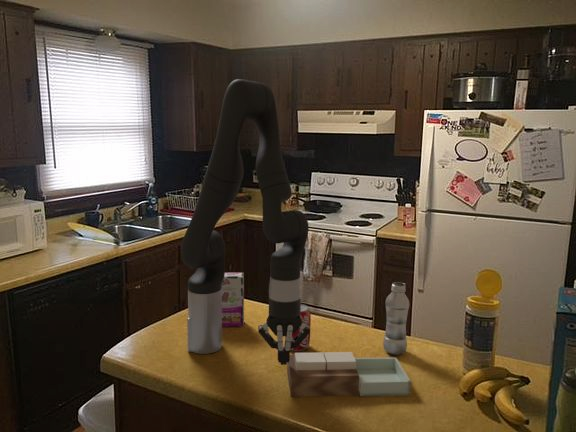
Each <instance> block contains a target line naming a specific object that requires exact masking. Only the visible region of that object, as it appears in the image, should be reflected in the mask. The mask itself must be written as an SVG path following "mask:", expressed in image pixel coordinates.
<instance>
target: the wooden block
mask: <svg viewBox="0 0 576 432" xmlns="http://www.w3.org/2000/svg"><path fill="white" fill-rule="evenodd" d="M286 366H287V367H286V371H287V373H286V374H287V381H288V387H289V388H288V389H289V394H290V397H293V398H294V397H326V396H327V397H329V396H332V397H333V396H337V397H338V396H359V392H358V391H359V374H358V371H357V369H341V370H327V369H326V370H296V365H295V354H290V361H289V362H287V365H286Z"/></svg>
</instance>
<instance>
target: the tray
mask: <svg viewBox="0 0 576 432" xmlns="http://www.w3.org/2000/svg"><path fill="white" fill-rule="evenodd" d="M354 358H355V360H356V369H357V371H358V374H359V391H358V396H360V397H385V396H386V397H390V396H391V397H394V396H395V397H396V396H397V397H398V396H411V386H412V381H411V379H410V378H409V376H408V374H407V373H406V371H405V369H404V368H403V367H402V364H401V363H400V362H399V360H398V358H397V357H396V356H395V357H394V356H393V357H354Z"/></svg>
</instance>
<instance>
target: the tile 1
mask: <svg viewBox="0 0 576 432" xmlns="http://www.w3.org/2000/svg"><path fill="white" fill-rule="evenodd" d="M294 355H295V365H296V370H326V361H325V358H324V352H322V351H321V352H294Z"/></svg>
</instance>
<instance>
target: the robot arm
mask: <svg viewBox="0 0 576 432" xmlns="http://www.w3.org/2000/svg"><path fill="white" fill-rule="evenodd" d="M245 121H250V122H254V123H255V126H256V130H257V133H258V138H259V141H258V143H259V144H258V150H257V155H256V160H255V175H256V178H257V183H258V187H259V190H260V193H261V197H262V198H261V199H262V203H261V204H262V230H263V233H264V235H265V237H266V239H267V240H268V241H269V242H270V243H273V244H274V245H275V244H279V245H280V244H283V245H282V246H281V248H279V249H278V250H275V251H274V252H272V254H271V256H270V260H269V261H270V265H269V268H270V269H269V270H270V271H269V273H270V277H269V282H268V316H267V318H266V320H265V321H266V322H265V323H263V324H260V325H258V328H257V329H258V332H257V333H258V334H259V335H260V336H261V337H262V338H263V340H264V341H265V342H266V343H267V345H268V346H269V347H270V348H271V349H276V350H277V362H278V363H280V365H281V366H283V365H285V366H287V362H289V361H290V355H291V354H290V353H291V351H292V350H291V349H292V348H297V347H298V346H299V345H300V344H301V342H302V341H303V340H304V339H305V338H306V336H307V335H308V334H309V333H310V334H311V326H310V327H309V325H305V324H304V323H303V322H302V318H301V317H300V308H301V304H302V303H301V300H302V297H301V296H302V283H301V262H302V261H301V260H302V257H303V255H304V254H303V253H304V250H305V247H306V243H307V239H308V236H309V231H310V230H309V221H308V217H307V216H306V215H305V213H304V212H303V211H301V210H297V209H293V210H286V211H282V204H283V203H284V202H286V201H288V200H290V199H291V197H292V195H293V194H292V193H293V192H292V187H291V183H290V179H289V177H288V174H287V173H288V172H287V168H286V166H285V162H284V157H283V153H282V146H281V138H280V137H281V136H280V129H279V128H280V127H279V121H278V111H277V105H276V100H275V95H274V93H273V90H272V88H271V87H270V86H269V85H268V84H266V83H262V82H258V81H253V80H248V79H242V78H241V79H240V78H237V79H234V80H232V81H231V82H230V83H229V85H228V86H227V89H226V90H225V93H224V97H223V100H222V105H221V110H220V116H219V121H218V127H217V132H216V136H215V140H214V144H213V148H212V151H211V155H210V158H209V161H208V165H207V168H206V171H205V174H204V176H203V177H204V178H203V181H202V184H201V185H202V186H201V190H200V192H199V196H198V199H197V201H196V204H195V205H196V206H195V208H194V211H193V214H192V216H191V220H190V222H189V223H188V227H187V228H186V231H185V233H184V235H183V238H182V241H181V244H180V256H181V261H182V262H183V264H184V265H185V266H186V267H188V268H190V269H196V270H195V272H194V273H193V274H192V275H191V276H189V278H188V280H187V306H188V307H187V310H188V311H187V312H188V313H187V314H188V315H187V319H186V321H187V322H186V325H187V329H186V330H187V332H186V333H187V334H186V335H187V352H191V353H195V354H201V355H207V354H214V353H215V352H218V351H220V350H221V348H222V347H223V327H222V282H223V279H224V275H225V273H226V271H225V270H226V244H225V240H224V237H223V236H222V234H221V233H220V232H218V231H217V230H215V227H216V225H217V224H218V222H219V221H220V219H221V218H222V217H223V216H224V215H225V213H226V211H228V209H230V207H231V206H232V205H233V203H234V201H235V200H236V197H237V196H238V193H239V190H240V187H241V185H242V181H243V178H244V172H245V170H244V169H245V168H244V163H243V158H242V153H241V150H240V138H241V134H242V129H243V126H244V124H245ZM299 327H300V332H299V333H298V334H297V335H296V337H295V338H294V339H293V340H292V341H291V339H292V335H294V334H295V333H296V331H297V330H298V329H299ZM269 331H271V332H272V333H273V335H274V336H276V337H277V338H276V339H277V341H276V340H275V338H273V336H272V335H271V333H269ZM283 337H284V338H283ZM283 339H284V341H283Z"/></svg>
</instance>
